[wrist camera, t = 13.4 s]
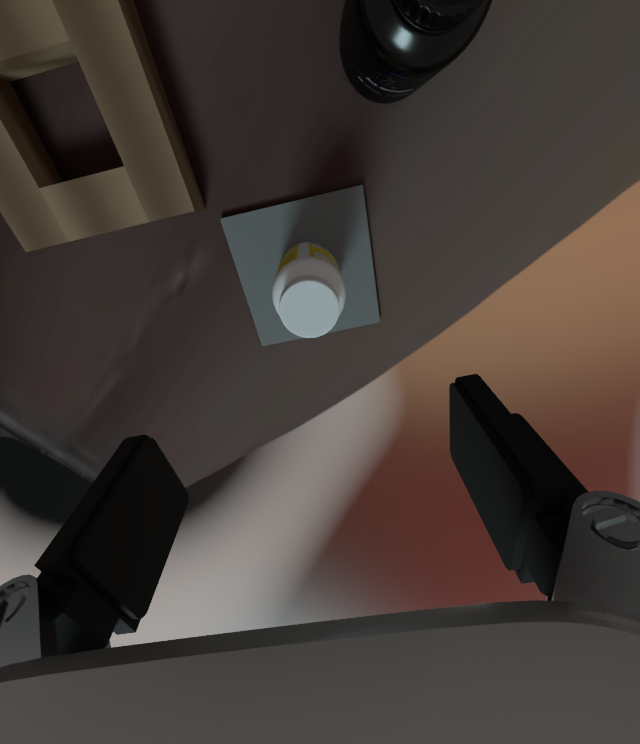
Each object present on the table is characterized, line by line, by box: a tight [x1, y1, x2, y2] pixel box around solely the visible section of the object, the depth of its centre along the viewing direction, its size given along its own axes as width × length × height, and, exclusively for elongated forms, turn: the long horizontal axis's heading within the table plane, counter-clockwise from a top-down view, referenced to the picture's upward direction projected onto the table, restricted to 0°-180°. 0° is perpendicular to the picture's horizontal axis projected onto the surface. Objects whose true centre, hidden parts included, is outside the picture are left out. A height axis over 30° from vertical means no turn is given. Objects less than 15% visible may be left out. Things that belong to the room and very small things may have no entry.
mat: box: [220, 185, 380, 346], centre depth 30 cm, size 12×12×1 cm
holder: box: [0, 0, 205, 252], centre depth 23 cm, size 14×14×3 cm
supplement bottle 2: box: [339, 0, 492, 104], centre depth 17 cm, size 7×7×12 cm
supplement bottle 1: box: [272, 242, 346, 338], centre depth 26 cm, size 5×5×10 cm
